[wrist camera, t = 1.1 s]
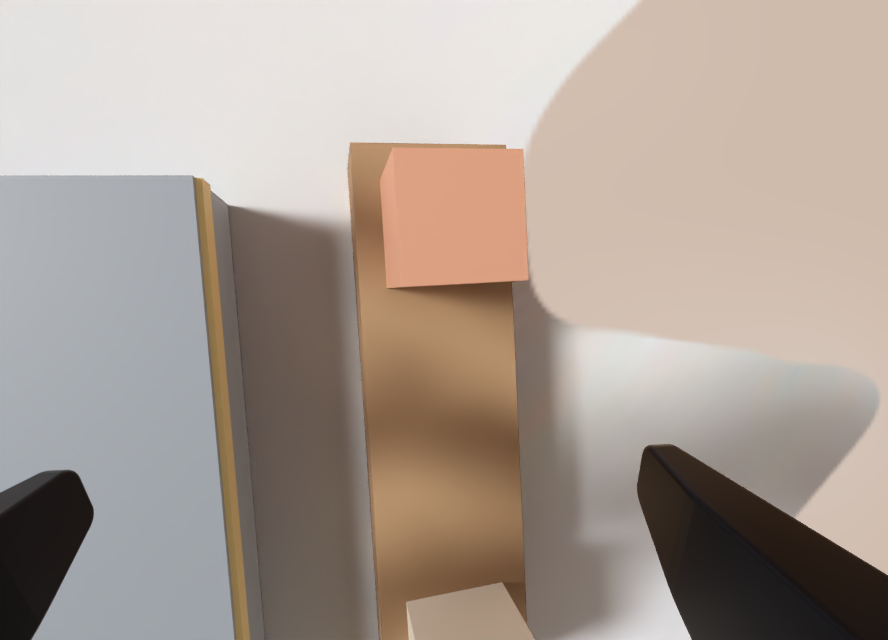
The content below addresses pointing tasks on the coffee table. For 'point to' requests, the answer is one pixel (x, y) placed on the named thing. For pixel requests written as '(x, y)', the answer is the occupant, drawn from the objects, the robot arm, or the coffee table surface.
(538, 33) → the coffee table surface
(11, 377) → the panel
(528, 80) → the coffee table surface
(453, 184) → the block
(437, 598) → the block
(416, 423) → the pallet
